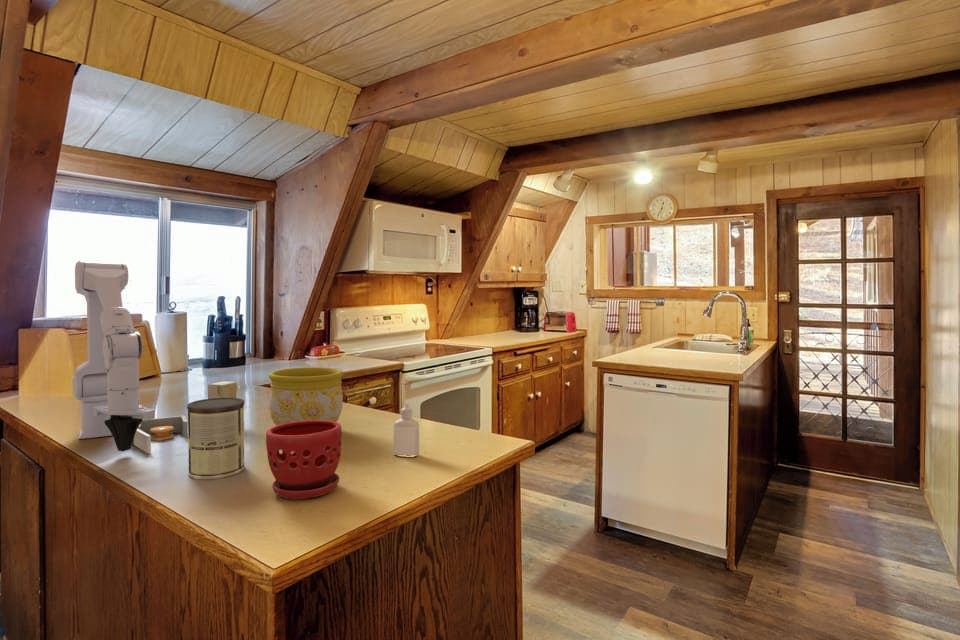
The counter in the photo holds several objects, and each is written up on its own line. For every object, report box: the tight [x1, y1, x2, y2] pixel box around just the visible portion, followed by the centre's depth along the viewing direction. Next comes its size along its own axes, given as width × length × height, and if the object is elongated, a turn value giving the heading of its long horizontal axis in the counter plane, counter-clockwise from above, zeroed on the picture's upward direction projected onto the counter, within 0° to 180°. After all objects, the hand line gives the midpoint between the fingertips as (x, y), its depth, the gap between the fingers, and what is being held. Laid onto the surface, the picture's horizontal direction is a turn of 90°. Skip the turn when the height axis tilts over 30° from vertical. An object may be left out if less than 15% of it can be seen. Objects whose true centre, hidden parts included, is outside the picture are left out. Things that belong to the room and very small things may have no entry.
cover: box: [132, 428, 152, 454], centre depth 119 cm, size 1×11×4 cm, turn 49°
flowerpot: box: [268, 366, 344, 426], centre depth 132 cm, size 18×18×16 cm
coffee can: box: [186, 397, 246, 480], centre depth 104 cm, size 10×10×14 cm
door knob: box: [150, 426, 175, 441], centre depth 128 cm, size 5×5×2 cm
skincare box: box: [207, 380, 237, 399], centre depth 138 cm, size 6×4×12 cm
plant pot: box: [265, 420, 343, 500], centre depth 94 cm, size 13×13×12 cm
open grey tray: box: [138, 415, 188, 439], centre depth 129 cm, size 8×11×4 cm
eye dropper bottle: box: [393, 402, 420, 456], centre depth 116 cm, size 4×6×12 cm
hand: (124, 449), depth 113 cm, fingers closed
